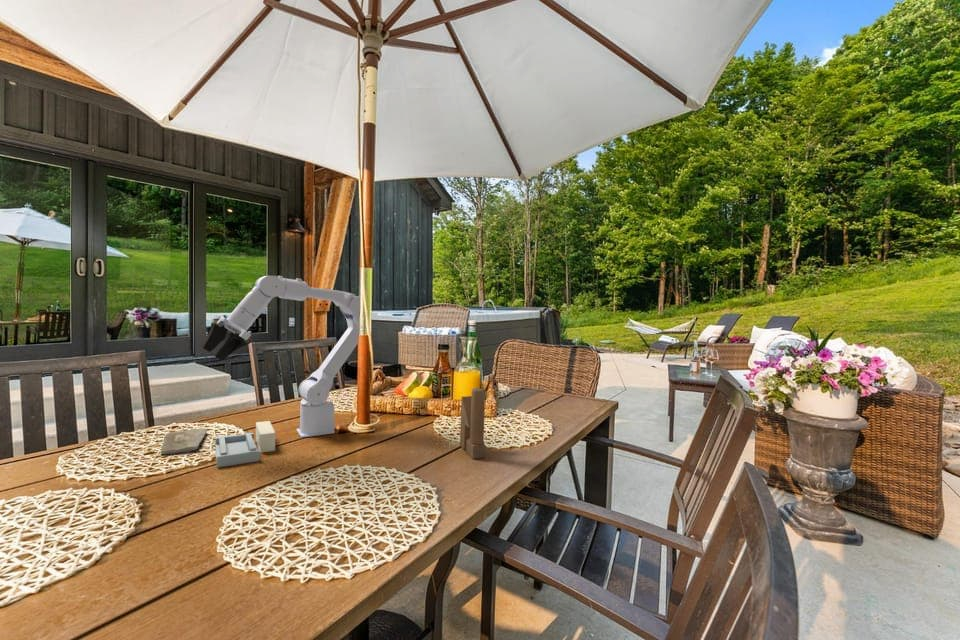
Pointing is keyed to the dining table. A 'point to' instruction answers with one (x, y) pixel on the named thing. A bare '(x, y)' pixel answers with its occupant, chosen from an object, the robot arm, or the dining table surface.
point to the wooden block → (473, 423)
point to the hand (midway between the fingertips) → (211, 354)
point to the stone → (182, 441)
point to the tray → (236, 449)
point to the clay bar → (265, 436)
